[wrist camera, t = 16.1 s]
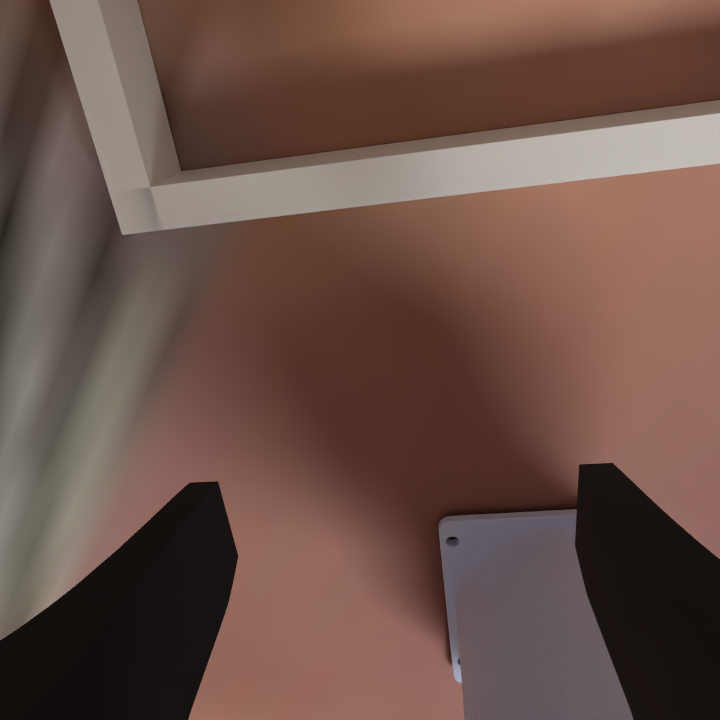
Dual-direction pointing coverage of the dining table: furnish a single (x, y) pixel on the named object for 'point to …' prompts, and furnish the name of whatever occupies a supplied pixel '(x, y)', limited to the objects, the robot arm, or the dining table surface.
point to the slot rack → (343, 167)
